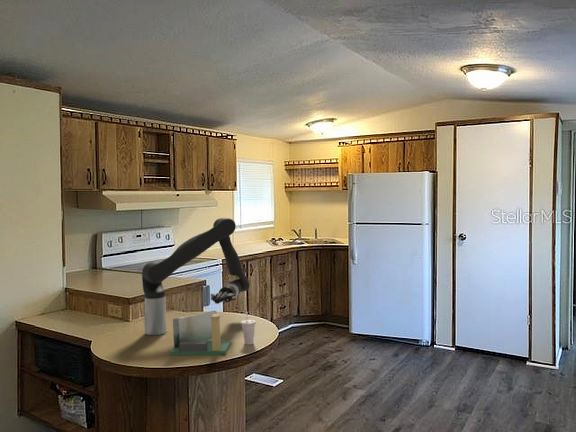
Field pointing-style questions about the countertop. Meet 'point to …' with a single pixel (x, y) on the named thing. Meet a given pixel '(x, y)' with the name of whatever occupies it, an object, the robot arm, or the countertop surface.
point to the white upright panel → (193, 328)
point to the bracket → (205, 343)
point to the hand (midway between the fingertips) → (216, 301)
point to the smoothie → (248, 330)
